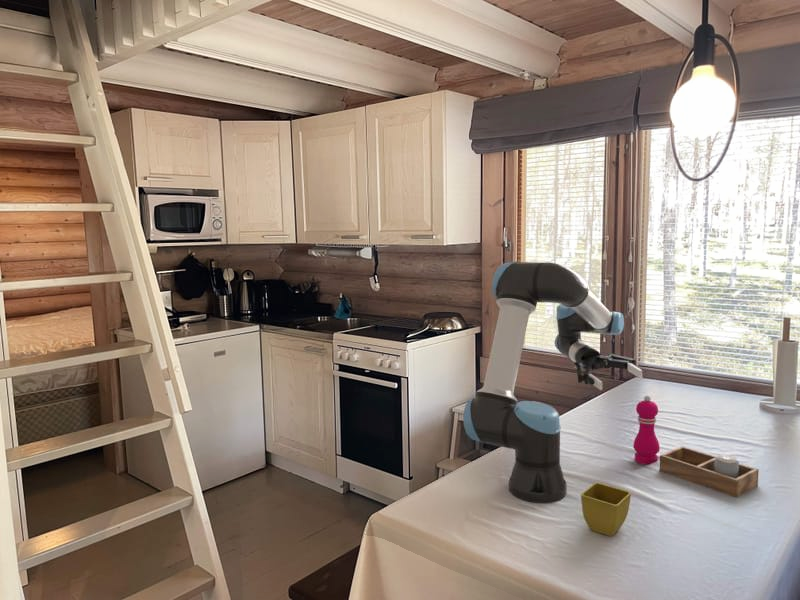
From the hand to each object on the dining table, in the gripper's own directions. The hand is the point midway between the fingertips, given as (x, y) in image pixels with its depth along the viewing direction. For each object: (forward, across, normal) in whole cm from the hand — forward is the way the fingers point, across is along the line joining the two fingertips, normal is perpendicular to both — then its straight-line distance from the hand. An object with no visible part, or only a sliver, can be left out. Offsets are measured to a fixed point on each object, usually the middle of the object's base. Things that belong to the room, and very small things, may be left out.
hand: (621, 380), depth 181 cm
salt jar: (+32, -9, -20) cm, 39 cm away
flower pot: (+42, +32, -12) cm, 55 cm away
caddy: (+28, -7, -21) cm, 35 cm away
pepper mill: (+11, 0, -22) cm, 25 cm away
